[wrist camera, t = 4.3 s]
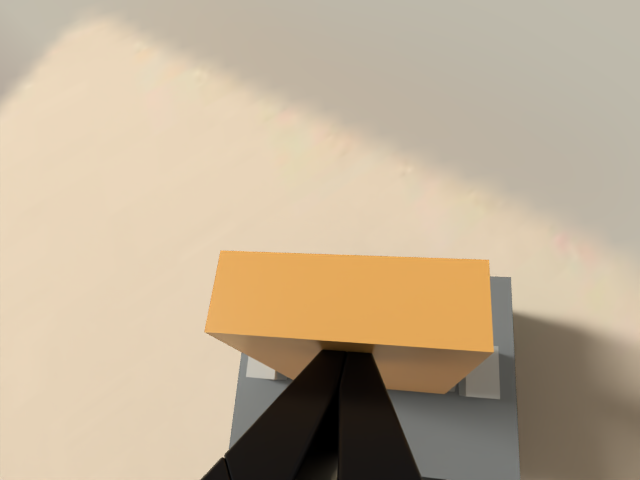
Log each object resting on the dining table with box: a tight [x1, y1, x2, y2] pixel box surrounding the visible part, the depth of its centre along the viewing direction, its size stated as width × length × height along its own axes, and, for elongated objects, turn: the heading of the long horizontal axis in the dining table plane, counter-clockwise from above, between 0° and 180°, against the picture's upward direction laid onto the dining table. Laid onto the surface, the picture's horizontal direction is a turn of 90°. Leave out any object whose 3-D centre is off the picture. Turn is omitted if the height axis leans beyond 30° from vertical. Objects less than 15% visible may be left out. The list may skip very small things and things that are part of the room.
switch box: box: [229, 277, 520, 480], centre depth 17 cm, size 13×10×8 cm
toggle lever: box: [204, 251, 494, 394], centre depth 12 cm, size 2×6×9 cm, turn 85°
